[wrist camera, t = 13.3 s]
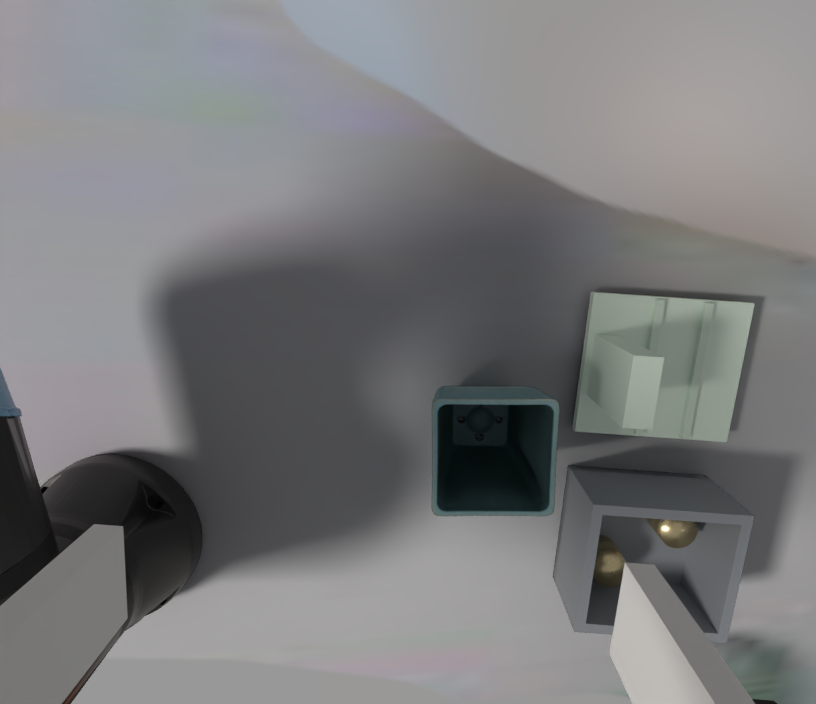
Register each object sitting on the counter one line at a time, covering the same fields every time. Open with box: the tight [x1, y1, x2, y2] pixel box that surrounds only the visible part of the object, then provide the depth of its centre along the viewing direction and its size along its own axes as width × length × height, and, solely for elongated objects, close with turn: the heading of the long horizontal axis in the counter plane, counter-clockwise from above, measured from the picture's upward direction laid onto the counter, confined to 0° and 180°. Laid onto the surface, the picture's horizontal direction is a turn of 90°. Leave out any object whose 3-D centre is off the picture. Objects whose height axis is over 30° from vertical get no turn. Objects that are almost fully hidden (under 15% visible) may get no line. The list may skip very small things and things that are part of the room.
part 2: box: [646, 518, 698, 548], centre depth 45 cm, size 3×3×3 cm
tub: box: [553, 466, 754, 643], centre depth 44 cm, size 12×11×7 cm
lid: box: [572, 292, 755, 442], centre depth 40 cm, size 13×12×10 cm
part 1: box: [593, 535, 627, 587], centre depth 46 cm, size 3×3×3 cm
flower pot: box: [432, 386, 560, 516], centre depth 41 cm, size 9×9×9 cm
